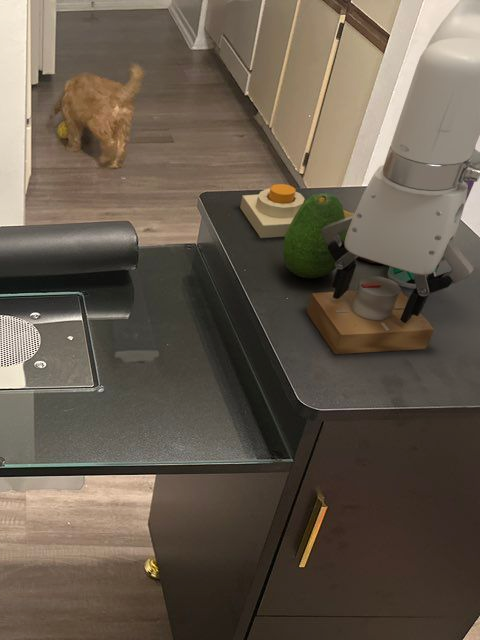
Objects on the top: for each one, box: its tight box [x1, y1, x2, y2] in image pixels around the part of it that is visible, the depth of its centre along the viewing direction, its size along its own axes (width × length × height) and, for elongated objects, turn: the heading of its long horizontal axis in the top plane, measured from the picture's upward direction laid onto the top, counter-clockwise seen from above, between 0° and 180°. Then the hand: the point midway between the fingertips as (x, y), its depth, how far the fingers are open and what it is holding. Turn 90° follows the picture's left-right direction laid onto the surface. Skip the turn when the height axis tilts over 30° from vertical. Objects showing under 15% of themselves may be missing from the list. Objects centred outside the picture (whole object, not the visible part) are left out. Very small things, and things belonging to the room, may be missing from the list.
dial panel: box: [306, 289, 435, 355], centre depth 90 cm, size 11×9×3 cm
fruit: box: [282, 192, 348, 280], centre depth 97 cm, size 8×8×12 cm
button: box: [268, 183, 297, 204], centre depth 110 cm, size 4×4×2 cm
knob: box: [352, 275, 401, 320], centre depth 88 cm, size 4×4×4 cm
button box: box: [239, 187, 305, 239], centre depth 112 cm, size 8×10×4 cm
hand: (373, 304), depth 88 cm, fingers open, 7 cm apart
